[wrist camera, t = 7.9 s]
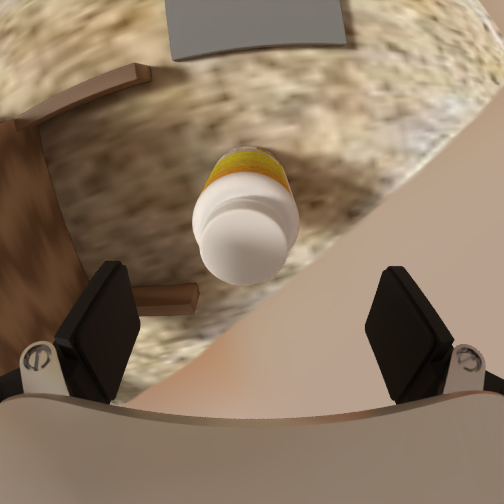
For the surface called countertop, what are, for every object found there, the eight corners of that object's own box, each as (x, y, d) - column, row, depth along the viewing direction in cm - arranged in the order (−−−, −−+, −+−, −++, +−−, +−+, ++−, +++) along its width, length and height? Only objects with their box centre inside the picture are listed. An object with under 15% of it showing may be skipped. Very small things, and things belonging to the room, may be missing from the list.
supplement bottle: (200, 159, 20) (159, 216, 12) (272, 134, 19) (286, 171, 11) (227, 222, 23) (211, 310, 14) (294, 201, 22) (319, 282, 13)
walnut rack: (199, 293, 27) (164, 455, 13) (89, 298, 28) (24, 417, 14) (150, 66, 17) (-31, 52, 3) (27, 118, 17) (-113, 179, 4)
